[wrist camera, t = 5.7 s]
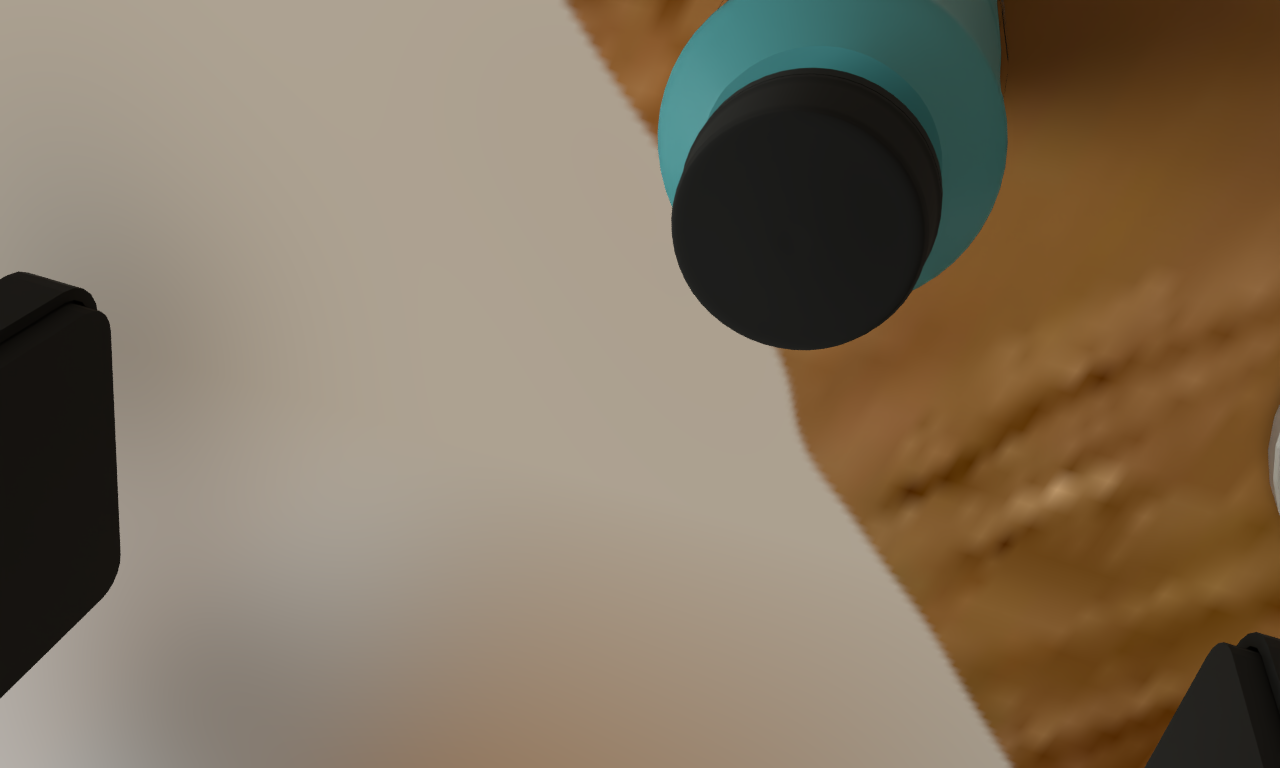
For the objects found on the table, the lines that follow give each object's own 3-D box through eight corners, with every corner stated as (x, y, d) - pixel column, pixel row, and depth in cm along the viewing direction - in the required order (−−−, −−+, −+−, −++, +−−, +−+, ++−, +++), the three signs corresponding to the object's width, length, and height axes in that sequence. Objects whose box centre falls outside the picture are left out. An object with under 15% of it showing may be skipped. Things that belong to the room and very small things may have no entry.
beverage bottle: (824, -164, 33) (651, -69, 16) (1049, -72, 33) (1115, 123, 16) (738, 58, 37) (520, 330, 20) (942, 143, 36) (901, 497, 19)
